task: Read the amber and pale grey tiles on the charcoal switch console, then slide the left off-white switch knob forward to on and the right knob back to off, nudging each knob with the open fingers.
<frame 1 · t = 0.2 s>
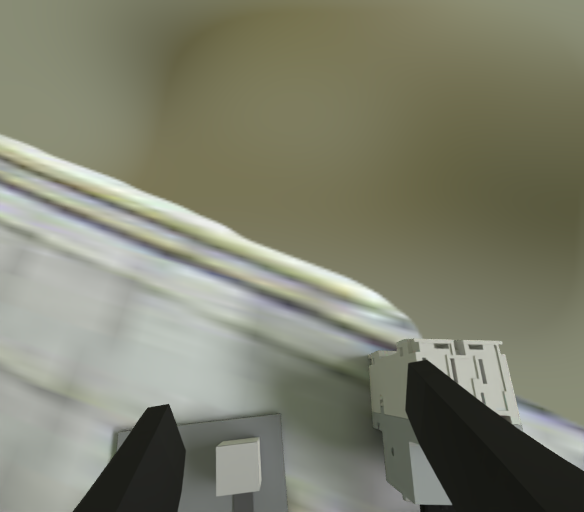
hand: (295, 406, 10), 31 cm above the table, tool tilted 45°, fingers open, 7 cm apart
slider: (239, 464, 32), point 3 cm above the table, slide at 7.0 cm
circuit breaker: (403, 418, 38), on the table
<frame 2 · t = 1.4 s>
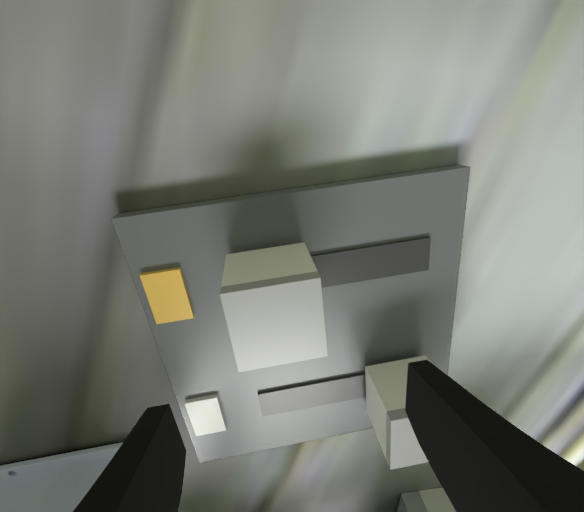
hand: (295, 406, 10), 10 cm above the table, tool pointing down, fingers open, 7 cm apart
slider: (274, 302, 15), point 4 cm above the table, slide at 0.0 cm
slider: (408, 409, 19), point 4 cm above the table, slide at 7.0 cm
switch console: (310, 328, 20), on the table
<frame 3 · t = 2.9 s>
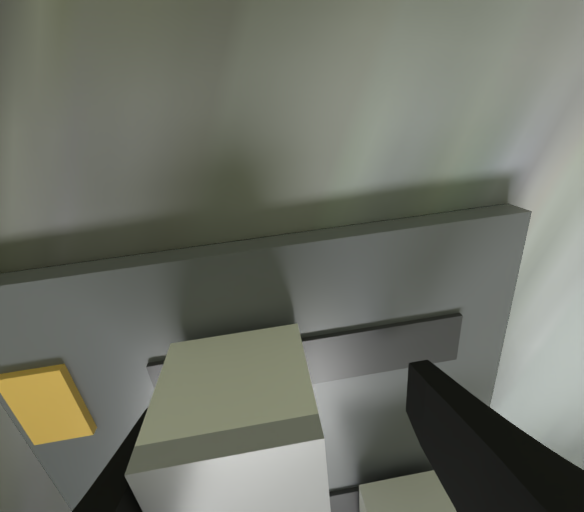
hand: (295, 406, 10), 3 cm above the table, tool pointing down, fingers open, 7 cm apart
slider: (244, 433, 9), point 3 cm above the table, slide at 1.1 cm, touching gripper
switch console: (281, 427, 14), on the table
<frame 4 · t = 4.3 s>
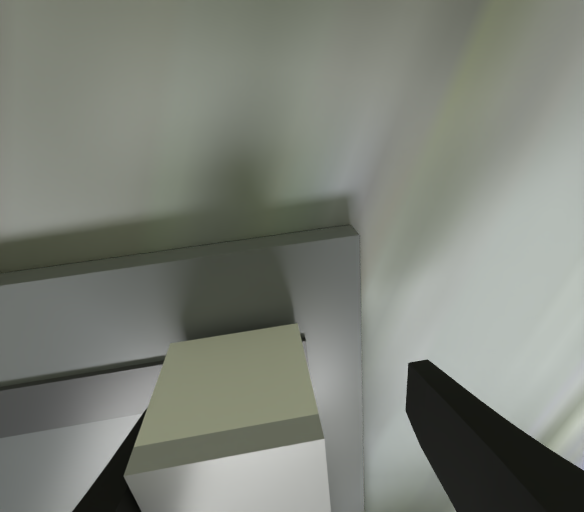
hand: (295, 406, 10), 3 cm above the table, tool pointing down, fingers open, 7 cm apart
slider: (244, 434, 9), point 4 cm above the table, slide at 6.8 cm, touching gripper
switch console: (152, 451, 14), on the table
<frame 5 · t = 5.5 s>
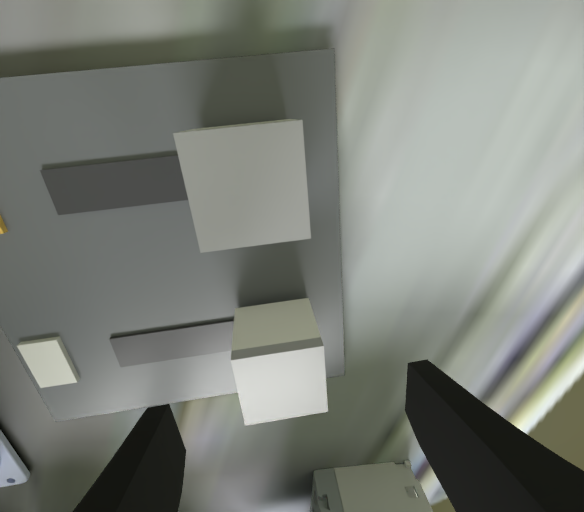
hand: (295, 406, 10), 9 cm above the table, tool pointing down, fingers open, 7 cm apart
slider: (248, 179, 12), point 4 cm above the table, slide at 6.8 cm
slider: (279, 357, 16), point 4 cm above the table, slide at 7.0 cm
switch console: (173, 262, 17), on the table
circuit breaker: (322, 494, 27), on the table
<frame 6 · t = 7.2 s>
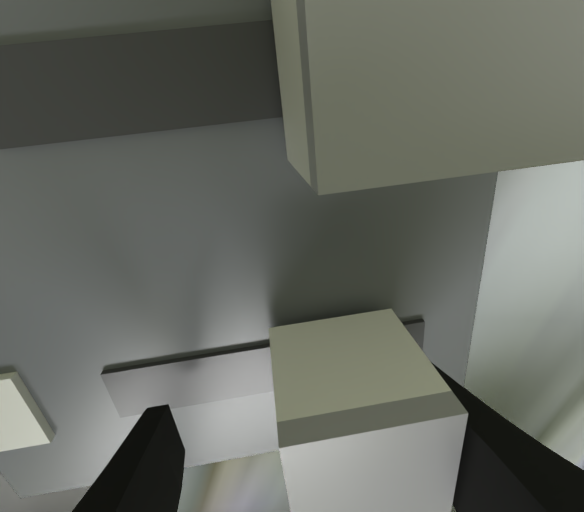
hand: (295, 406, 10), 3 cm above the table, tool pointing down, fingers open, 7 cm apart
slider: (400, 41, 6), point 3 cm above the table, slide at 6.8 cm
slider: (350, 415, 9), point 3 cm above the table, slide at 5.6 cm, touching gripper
switch console: (205, 244, 10), on the table
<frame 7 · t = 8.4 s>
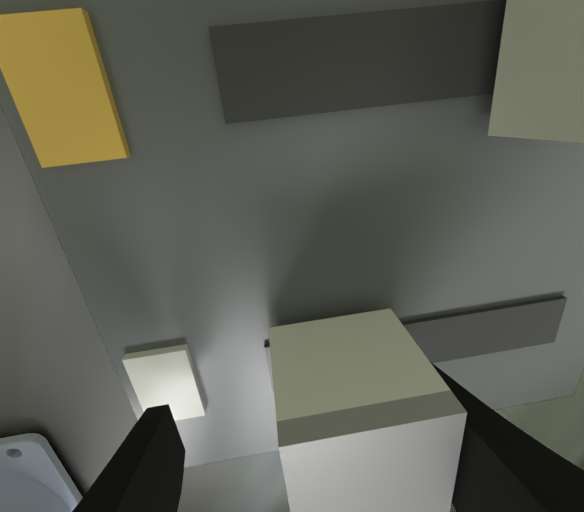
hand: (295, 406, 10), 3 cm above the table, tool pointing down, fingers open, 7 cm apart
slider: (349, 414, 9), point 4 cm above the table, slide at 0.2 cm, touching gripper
switch console: (367, 222, 11), on the table
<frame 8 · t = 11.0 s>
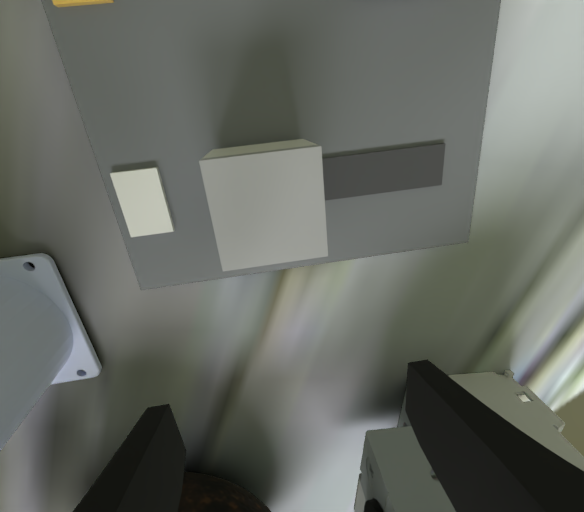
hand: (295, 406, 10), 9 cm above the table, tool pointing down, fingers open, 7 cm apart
glass bottle: (182, 505, 26), on the table
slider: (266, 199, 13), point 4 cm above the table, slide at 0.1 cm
switch console: (291, 78, 14), on the table
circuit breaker: (410, 412, 25), on the table
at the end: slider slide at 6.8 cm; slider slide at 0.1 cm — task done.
